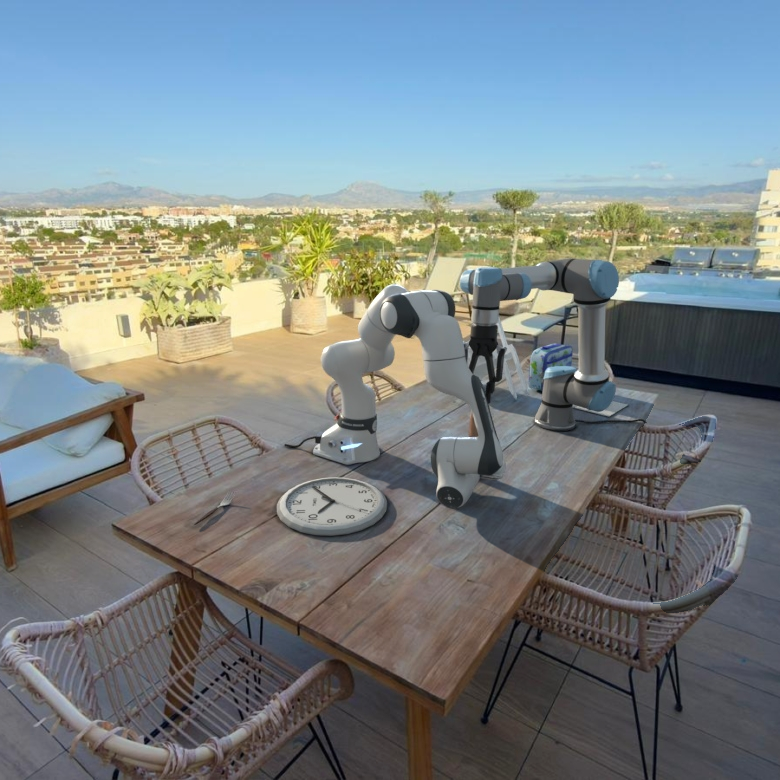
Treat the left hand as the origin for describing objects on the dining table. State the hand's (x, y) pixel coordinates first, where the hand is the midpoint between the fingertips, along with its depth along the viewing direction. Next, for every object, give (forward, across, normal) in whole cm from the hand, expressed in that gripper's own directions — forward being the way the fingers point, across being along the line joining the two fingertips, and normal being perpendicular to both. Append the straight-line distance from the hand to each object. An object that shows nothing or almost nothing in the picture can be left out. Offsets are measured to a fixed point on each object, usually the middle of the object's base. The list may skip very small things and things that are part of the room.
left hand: (475, 454), depth 160 cm
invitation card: (+86, -36, +7) cm, 93 cm away
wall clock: (-34, +31, +7) cm, 47 cm away
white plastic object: (+84, +17, +7) cm, 86 cm away
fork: (-50, +58, +7) cm, 77 cm away
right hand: (-1, 0, -17) cm, 17 cm away
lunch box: (+106, -12, +7) cm, 106 cm away
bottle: (-1, 0, +7) cm, 7 cm away
